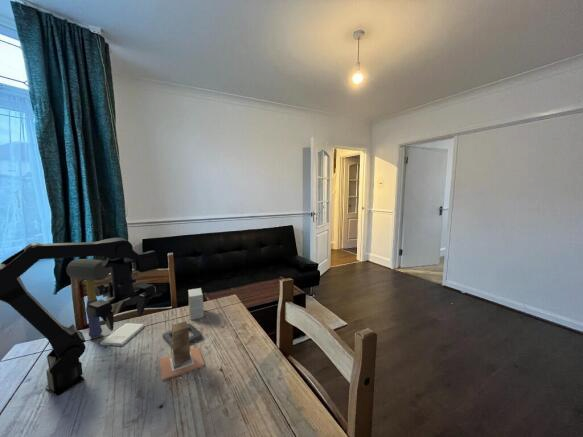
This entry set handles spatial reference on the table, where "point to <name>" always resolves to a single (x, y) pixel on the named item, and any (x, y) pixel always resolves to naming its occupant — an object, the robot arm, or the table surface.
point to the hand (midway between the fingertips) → (126, 322)
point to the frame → (193, 338)
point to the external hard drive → (122, 334)
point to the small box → (195, 303)
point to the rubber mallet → (89, 285)
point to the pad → (170, 372)
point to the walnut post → (181, 345)
